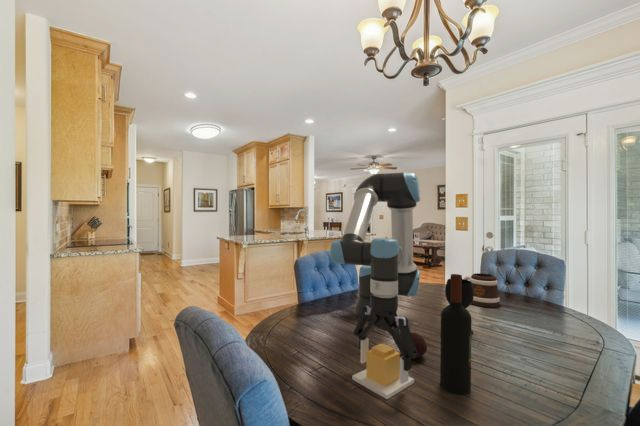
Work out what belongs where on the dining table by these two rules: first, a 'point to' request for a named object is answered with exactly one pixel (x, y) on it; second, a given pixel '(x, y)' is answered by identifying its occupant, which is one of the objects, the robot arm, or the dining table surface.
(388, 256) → the robot arm
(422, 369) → the dining table surface
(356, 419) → the dining table surface
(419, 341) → the potato
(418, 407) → the dining table surface
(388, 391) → the post plate
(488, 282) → the mug
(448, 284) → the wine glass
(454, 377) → the wine bottle
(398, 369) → the orange block
